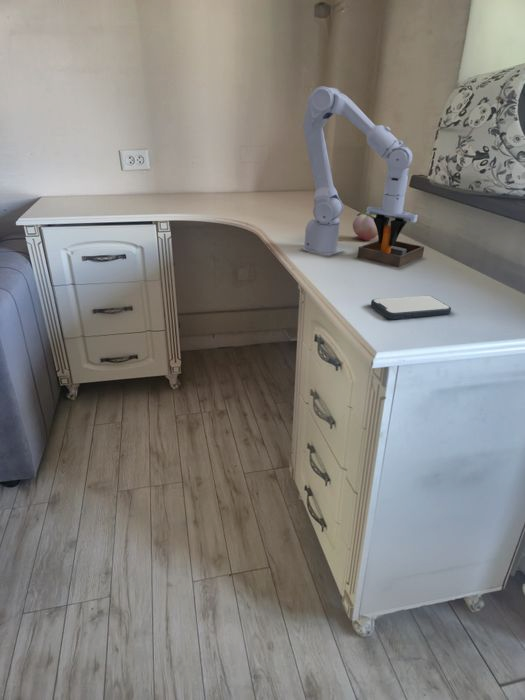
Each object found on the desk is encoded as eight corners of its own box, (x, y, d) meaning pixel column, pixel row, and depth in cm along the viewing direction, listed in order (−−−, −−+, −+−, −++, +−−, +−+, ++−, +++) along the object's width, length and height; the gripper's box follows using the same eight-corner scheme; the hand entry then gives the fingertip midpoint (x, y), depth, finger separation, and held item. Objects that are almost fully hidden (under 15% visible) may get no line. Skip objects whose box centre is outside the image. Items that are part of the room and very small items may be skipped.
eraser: (386, 253, 147) (387, 247, 146) (390, 252, 149) (391, 245, 148) (401, 257, 144) (402, 250, 143) (405, 255, 146) (406, 249, 145)
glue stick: (378, 252, 141) (381, 226, 137) (383, 250, 143) (387, 224, 139) (387, 254, 139) (391, 228, 135) (392, 252, 141) (396, 226, 138)
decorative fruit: (384, 241, 162) (389, 211, 157) (371, 246, 156) (375, 214, 152) (360, 236, 167) (364, 206, 163) (346, 240, 162) (350, 209, 157)
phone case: (428, 301, 115) (368, 305, 110) (429, 294, 114) (369, 298, 109) (452, 315, 107) (388, 321, 102) (454, 308, 106) (390, 314, 102)
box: (357, 258, 143) (358, 247, 141) (382, 249, 153) (384, 238, 152) (398, 269, 135) (400, 256, 134) (422, 258, 146) (424, 246, 144)
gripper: (425, 196, 132) (416, 246, 138) (377, 189, 140) (371, 236, 146) (414, 199, 127) (405, 251, 133) (365, 191, 135) (359, 240, 142)
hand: (386, 243), depth 140 cm, fingers closed on glue stick, 3 cm apart
